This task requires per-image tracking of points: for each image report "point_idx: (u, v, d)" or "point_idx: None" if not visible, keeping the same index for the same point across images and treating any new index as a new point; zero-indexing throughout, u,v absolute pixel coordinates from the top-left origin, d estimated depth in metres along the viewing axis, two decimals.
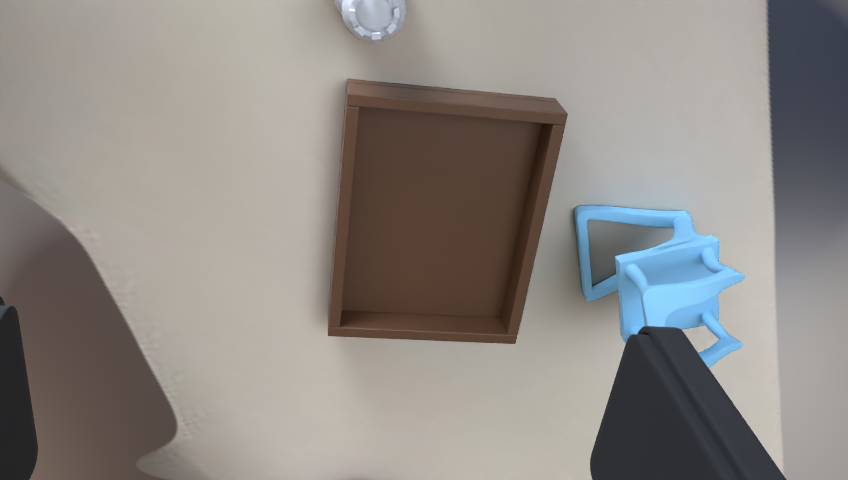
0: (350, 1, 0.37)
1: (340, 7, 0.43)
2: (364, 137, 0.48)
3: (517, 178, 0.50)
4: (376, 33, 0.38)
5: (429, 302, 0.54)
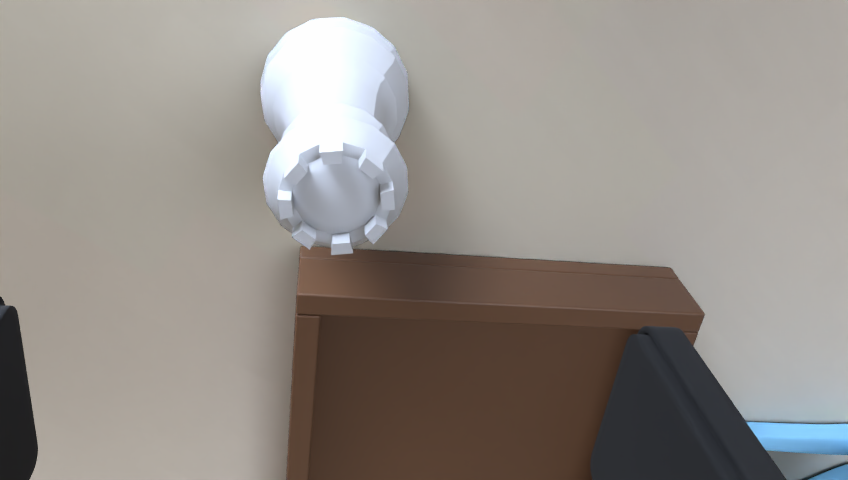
0: (280, 173, 0.16)
1: (278, 137, 0.22)
2: (333, 342, 0.27)
3: (598, 394, 0.29)
4: (341, 243, 0.16)
5: None
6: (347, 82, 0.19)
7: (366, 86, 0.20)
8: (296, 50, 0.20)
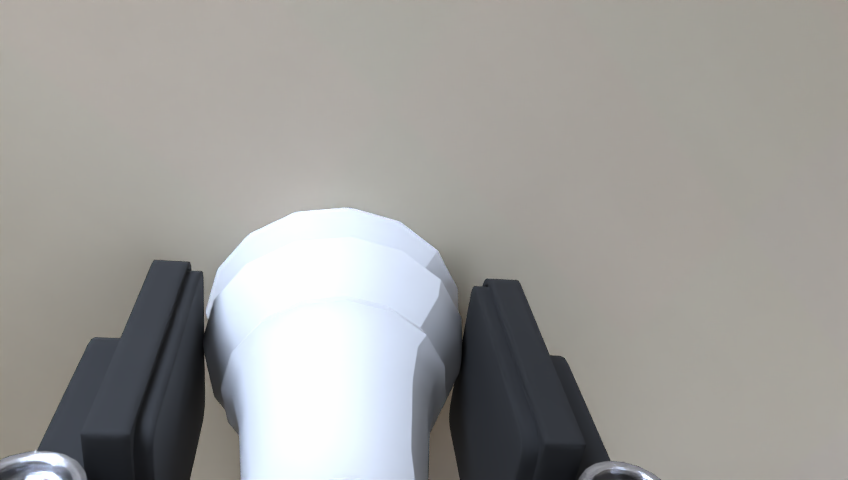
0: None
1: None
2: None
3: None
4: None
5: None
6: (358, 370, 0.10)
7: (393, 370, 0.10)
8: (263, 285, 0.11)
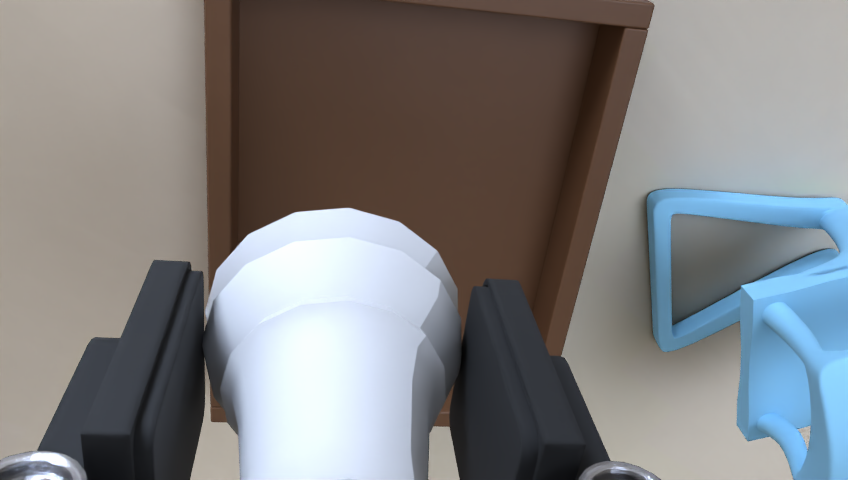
0: None
1: None
2: (257, 58, 0.25)
3: (549, 139, 0.27)
4: None
5: None
6: (358, 371, 0.10)
7: (392, 371, 0.10)
8: (263, 285, 0.11)
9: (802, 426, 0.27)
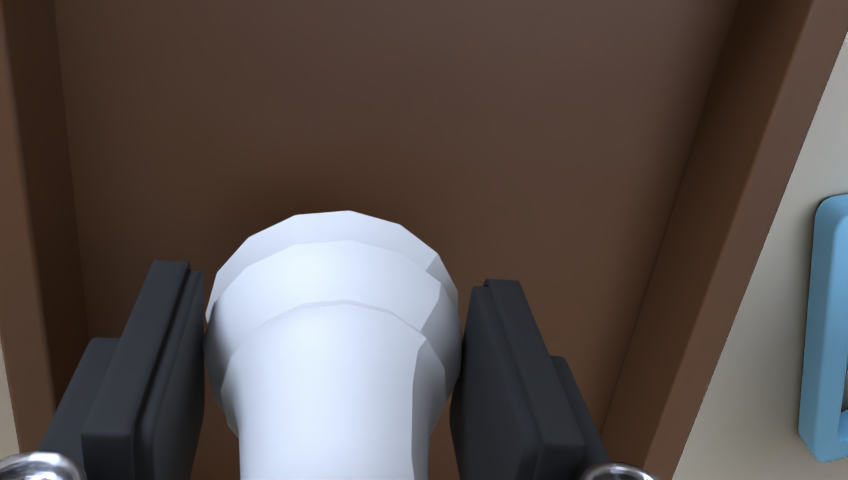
0: None
1: None
2: None
3: (663, 99, 0.15)
4: None
5: None
6: (358, 374, 0.10)
7: (393, 374, 0.10)
8: (263, 289, 0.11)
9: None
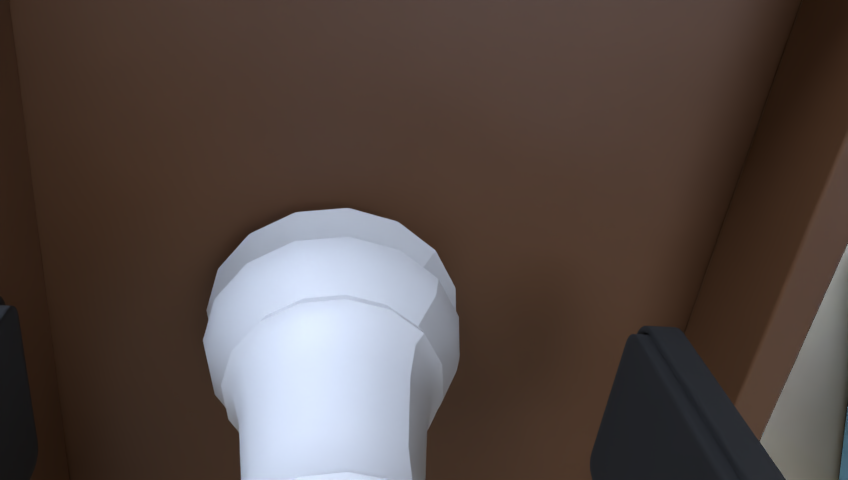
0: None
1: None
2: None
3: (702, 140, 0.13)
4: None
5: None
6: (357, 368, 0.10)
7: (391, 368, 0.10)
8: (263, 284, 0.11)
9: None
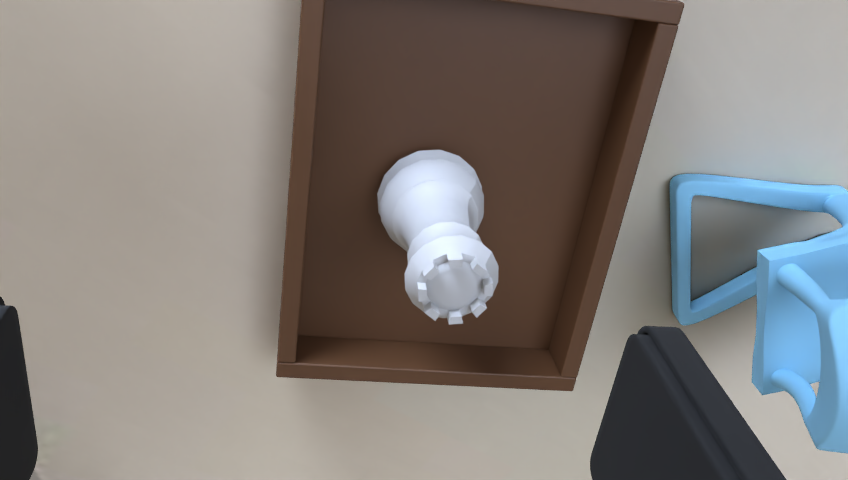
0: (419, 271, 0.25)
1: (392, 234, 0.30)
2: (336, 45, 0.28)
3: (586, 125, 0.31)
4: (456, 316, 0.25)
5: (438, 324, 0.35)
6: (449, 201, 0.28)
7: (461, 203, 0.28)
8: (410, 176, 0.29)
9: (810, 382, 0.30)
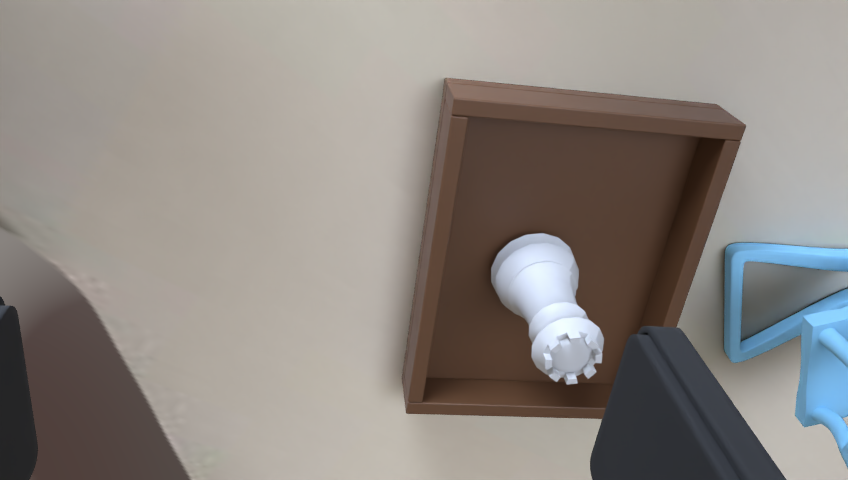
0: (544, 345, 0.32)
1: (505, 301, 0.37)
2: (465, 156, 0.36)
3: (660, 209, 0.38)
4: (572, 378, 0.32)
5: (533, 366, 0.42)
6: (557, 281, 0.35)
7: (565, 281, 0.36)
8: (522, 257, 0.36)
9: (843, 416, 0.38)
